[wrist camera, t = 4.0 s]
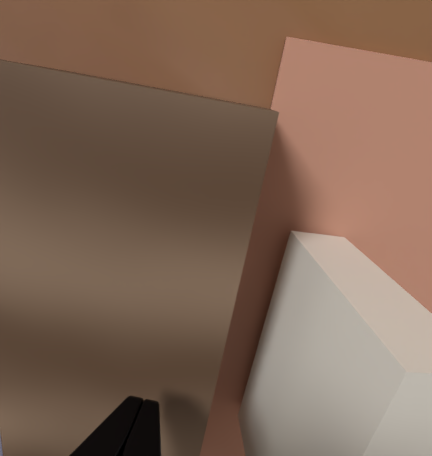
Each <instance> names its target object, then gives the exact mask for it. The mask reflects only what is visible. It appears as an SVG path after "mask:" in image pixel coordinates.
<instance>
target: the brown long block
mask: <svg viewBox="0 0 432 456" xmlns="http://www.w3.org/2000/svg"><path fill="white" fill-rule="evenodd" d="M278 115H279V112H277V111H274V110H272V109H267V108H262V107H257V106H251V105H246V104H240V103H235V102H230V101H224V100H219V99H214V98H208V97H203V96H198V95H192V94H187V93H181V92H176V91H171V90H165V89H160V88H155V87H149V86H144V85H139V84H133V83H128V82H122V81H117V80H112V79H106V78H101V77H96V76H90V75H85V74H80V73H74V72H69V71H63V70H58V69H52V68H46V67H40V66H35V65H29V64H23V63H17V62H11V61H6V60H0V432H1V441H2V450H3V456H69V455H70V454H71V453H72V452H73V451H74V450H75V449H76V448H77V447H78V446H79V445H80V444H81V443H82V442H83V441H84V440H85V439H86V438H87V437H88V436H89V435H90V434H91V433H92V432H93V431H94V430H95V429H96V428H97V427H98V426H99V425H100V424H101V423H102V422H103V421H104V420H105V419H106V418H107V417H108V416H109V415H110V414H111V413H112V412H113V411H114V410H115V409H116V408H117V407H118V406H119V405H120V404H121V403H122V402H123V401H124V400H125V399H126V398H127V397H128V396H136V397H141V398H143V400H145V399H150V400H154V401H158V402H159V410H160V434H161V456H200V452H201V448H202V443H203V439H204V435H205V430H206V426H207V422H208V417H209V413H210V409H211V404H212V400H213V396H214V391H215V387H216V383H217V379H218V374H219V370H220V366H221V361H222V357H223V353H224V348H225V344H226V340H227V335H228V331H229V327H230V322H231V318H232V314H233V310H234V305H235V301H236V297H237V292H238V288H239V284H240V279H241V275H242V271H243V266H244V262H245V258H246V253H247V249H248V245H249V240H250V236H251V232H252V228H253V223H254V219H255V215H256V210H257V206H258V202H259V197H260V193H261V189H262V184H263V180H264V176H265V171H266V167H267V163H268V159H269V154H270V150H271V146H272V141H273V137H274V133H275V128H276V124H277V120H278Z"/></svg>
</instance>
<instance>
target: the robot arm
mask: <svg viewBox="0 0 432 456" xmlns="http://www.w3.org/2000/svg"><path fill="white" fill-rule="evenodd" d="M69 456H161V434H160V410H159V402H158V401H154V400H150V399H145V400H143V398H141V397H136V396H128V397H127V398H126V399H125V400H124V401H123V402H122V403H121V404H120V405H119V406H118V407H117V408H116V409H115V410H114V411H113V412H112V413H111V414H110V415H109V416H108V417H107V418H106V419H105V420H104V421H103V422H102V423H101V424H100V425H99V426H98V427H97V428H96V429H95V430H94V431H93V432H92V433H91V434H90V435H89V436H88V437H87V438H86V439H85V440H84V441H83V442H82V443H81V444H80V445H79V446H78V447H77V448H76V449H75V450H74V451H73V452H72V453H71V454H70V455H69Z"/></svg>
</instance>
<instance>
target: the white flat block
mask: <svg viewBox="0 0 432 456" xmlns="http://www.w3.org/2000/svg"><path fill="white" fill-rule="evenodd" d="M238 419H239V425H240V430H241V435H242V440H243V445H244V450H245V455H246V456H432V313H431V312H429V311H428V310H427V309H426V308H425V307H424V306H423V305H421V304H420V303H419V302H418V301H417V300H416V299H415V298H413V297H412V296H411V295H410V294H409V293H408V292H407V291H405V290H404V289H403V288H402V287H401V286H400V285H399V284H397V283H396V282H395V281H394V280H393V279H392V278H391V277H389V276H388V275H387V274H386V273H385V272H384V271H383V270H381V269H380V268H379V267H378V266H377V265H376V264H375V263H373V262H372V261H371V260H370V259H369V258H368V257H367V256H365V255H364V254H363V253H362V252H361V251H360V250H359V249H357V248H356V247H355V246H354V245H353V244H352V243H351V242H349V241H348V240H347V239H346V238H345V237H339V236H331V235H323V234H315V233H307V232H298V231H291V232H290V235H289V239H288V242H287V246H286V249H285V253H284V256H283V260H282V263H281V267H280V270H279V273H278V277H277V280H276V284H275V287H274V291H273V294H272V298H271V301H270V305H269V308H268V312H267V315H266V319H265V322H264V326H263V329H262V333H261V336H260V340H259V343H258V347H257V350H256V354H255V357H254V361H253V364H252V368H251V371H250V375H249V378H248V382H247V385H246V389H245V392H244V396H243V399H242V403H241V406H240V410H239V413H238Z"/></svg>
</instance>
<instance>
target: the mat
mask: <svg viewBox="0 0 432 456" xmlns="http://www.w3.org/2000/svg"><path fill="white" fill-rule="evenodd" d="M270 109H272V110H274V111H277V112H279V115H278V120H277V124H276V128H275V133H274V137H273V141H272V146H271V150H270V154H269V159H268V163H267V167H266V171H265V176H264V180H263V184H262V189H261V193H260V197H259V202H258V206H257V210H256V215H255V219H254V223H253V228H252V232H251V236H250V240H249V245H248V249H247V253H246V258H245V262H244V266H243V271H242V275H241V279H240V284H239V288H238V292H237V297H236V301H235V305H234V310H233V314H232V318H231V322H230V327H229V331H228V335H227V340H226V344H225V348H224V353H223V357H222V361H221V366H220V370H219V374H218V379H217V383H216V387H215V391H214V396H213V400H212V404H211V409H210V413H209V417H208V422H207V426H206V430H205V435H204V439H203V443H202V448H201V452H200V456H246V455H245V450H244V445H243V440H242V435H241V430H240V425H239V419H238V413H239V410H240V406H241V403H242V399H243V396H244V392H245V389H246V385H247V382H248V378H249V375H250V371H251V368H252V364H253V361H254V357H255V354H256V350H257V347H258V343H259V340H260V336H261V333H262V329H263V326H264V322H265V319H266V315H267V312H268V308H269V305H270V301H271V298H272V294H273V291H274V287H275V284H276V280H277V277H278V273H279V270H280V267H281V263H282V260H283V256H284V253H285V249H286V246H287V242H288V239H289V235H290V232H291V231H298V232H307V233H315V234H323V235H331V236H339V237H345V238H346V239H347V240H348V241H349V242H351V243H352V244H353V245H354V246H355V247H356V248H357V249H359V250H360V251H361V252H362V253H363V254H364V255H365V256H367V257H368V258H369V259H370V260H371V261H372V262H373V263H375V264H376V265H377V266H378V267H379V268H380V269H381V270H383V271H384V272H385V273H386V274H387V275H388V276H389V277H391V278H392V279H393V280H394V281H395V282H396V283H397V284H399V285H400V286H401V287H402V288H403V289H404V290H405V291H407V292H408V293H409V294H410V295H411V296H412V297H413V298H415V299H416V300H417V301H418V302H419V303H420V304H421V305H423V306H424V307H425V308H426V309H427V310H428V311H429V312H431V313H432V62H427V61H421V60H416V59H410V58H405V57H399V56H393V55H388V54H382V53H376V52H371V51H365V50H359V49H354V48H348V47H342V46H337V45H331V44H325V43H320V42H314V41H309V40H303V39H297V38H292V37H286V41H285V45H284V50H283V54H282V59H281V63H280V68H279V72H278V77H277V81H276V86H275V90H274V95H273V99H272V104H271V108H270Z"/></svg>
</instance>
